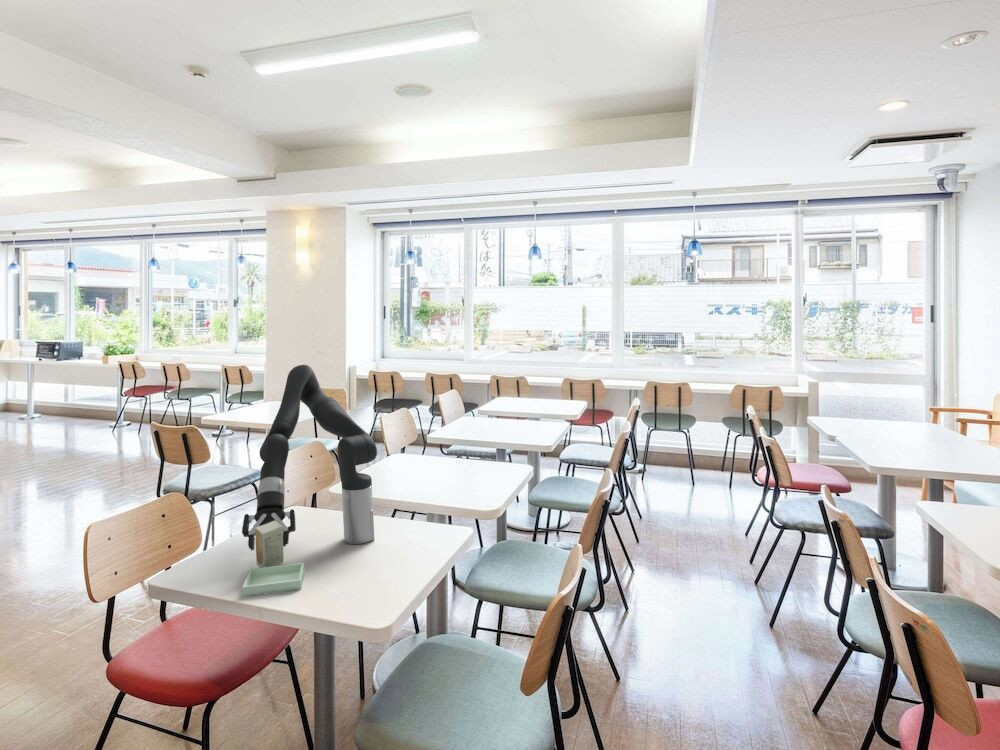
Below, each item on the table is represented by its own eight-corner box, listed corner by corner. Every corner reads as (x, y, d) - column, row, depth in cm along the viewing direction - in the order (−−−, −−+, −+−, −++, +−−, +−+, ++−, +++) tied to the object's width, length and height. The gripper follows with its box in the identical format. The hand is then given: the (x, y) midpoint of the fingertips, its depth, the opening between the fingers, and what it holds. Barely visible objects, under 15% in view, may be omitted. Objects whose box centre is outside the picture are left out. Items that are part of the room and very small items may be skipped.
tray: (304, 571, 158) (304, 562, 158) (301, 589, 148) (300, 580, 148) (250, 577, 155) (249, 568, 155) (242, 596, 144) (242, 587, 144)
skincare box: (276, 556, 166) (276, 519, 162) (284, 563, 163) (284, 525, 160) (255, 564, 161) (254, 527, 158) (262, 572, 158) (261, 533, 155)
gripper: (297, 499, 175) (296, 549, 166) (248, 503, 172) (243, 555, 162) (294, 487, 170) (293, 539, 160) (243, 492, 166) (238, 545, 157)
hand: (268, 547), depth 161 cm, fingers open, 8 cm apart
